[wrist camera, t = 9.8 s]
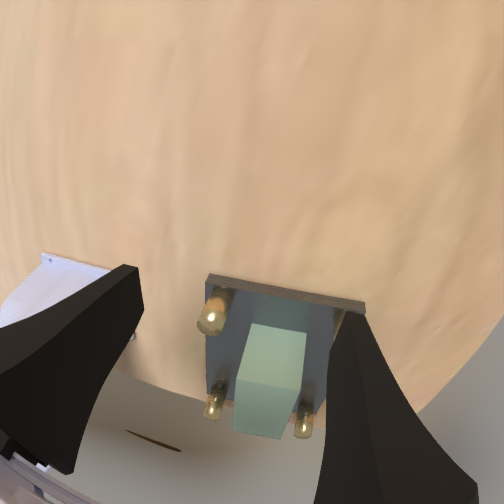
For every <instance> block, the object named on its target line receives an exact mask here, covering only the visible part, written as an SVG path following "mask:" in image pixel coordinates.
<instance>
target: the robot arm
mask: <svg viewBox="0 0 504 504" xmlns="http://www.w3.org/2000/svg"><path fill="white" fill-rule="evenodd" d="M40 258H41V261H42V264H40V265H39V266H38V267H37V268H36V269H35V270H34V271H33V272H32V273H31V274H30V275H29V276H28V277H27V278H26V279H25V280H24V281H23V282H22V283H21V284H20V285H19V286H18V287H17V288H16V289H15V290H14V291H13V292H12V293H11V294H10V295H9V296H8V297H7V298H6V300H5V301H4V303H3V305H2V307H1V309H0V504H54V503H52V502H51V501H49V500H47V499H45V498H44V495H43V491H44V492H46V493H48V494H49V495H51V496H53V497H54V498H56V499H57V500H59V501H61V502H63V503H64V504H101V503H99V502H97V501H95V500H93V499H91V498H89V497H87V496H85V495H83V494H82V493H80V492H78V491H76V490H74V489H72V488H71V487H68V486H67V485H65V484H64V483H62V482H60V481H58V480H56V479H55V478H53V477H52V476H50V475H48V474H47V473H48V471H49V470H50V469H51V468H54V469H56V470H57V471H59V472H61V473H63V474H64V475H68V474H71V473H73V472H74V467H75V463H76V459H77V455H78V450H79V447H80V443H81V440H82V436H83V434H84V431H85V427H86V424H87V422H88V419H89V416H90V414H91V411H92V409H93V406H94V403H95V401H96V399H97V396H98V394H99V392H100V390H101V387H102V386H103V384H104V382H105V380H106V378H107V376H108V375H109V373H110V371H111V370H112V368H113V366H114V365H115V363H116V361H117V360H118V358H119V357H120V355H121V353H122V352H123V350H124V348H125V347H126V345H127V343H128V342H129V340H132V339H133V338H134V332H135V330H136V327H137V325H138V323H139V321H140V319H141V316H142V314H143V312H144V304H143V298H142V292H141V285H140V278H139V270H138V267H134V266H130V265H126V264H123V265H121V266H119V267H117V268H115V269H114V270H112V271H111V270H107V269H104V268H100V267H96V266H92V265H88V264H84V263H81V262H77V261H73V260H70V259H66V258H62V257H59V256H55V255H52V254H48V253H45V252H43V253H42V254H41V255H40ZM42 490H43V491H42ZM313 504H479V496H478V487H477V483H476V482H475V481H474V480H473V479H472V478H471V477H469V476H468V475H467V474H466V473H465V472H464V471H463V470H462V469H461V468H460V467H459V466H458V465H457V464H456V463H455V462H454V461H453V460H452V459H451V458H450V457H449V456H448V454H447V453H446V452H445V451H444V450H443V449H442V448H441V446H440V445H439V444H438V443H437V442H436V440H435V439H434V438H433V437H432V435H431V434H430V433H429V431H428V430H427V429H426V428H425V426H424V425H423V423H422V422H421V421H420V419H419V418H418V416H417V415H416V413H415V412H414V410H413V409H412V407H411V406H410V404H409V403H408V401H407V399H406V398H405V396H404V394H403V392H402V391H401V389H400V387H399V385H398V384H397V382H396V380H395V378H394V376H393V374H392V372H391V370H390V368H389V366H388V364H387V362H386V360H385V358H384V356H383V354H382V352H381V350H380V348H379V346H378V344H377V342H376V339H375V337H374V335H373V333H372V331H371V328H370V326H369V324H368V322H367V320H366V317H365V316H364V314H359V313H354V312H348V311H346V313H345V316H344V318H343V321H342V323H341V325H340V328H339V330H338V333H337V335H336V338H335V340H334V342H333V345H332V347H331V349H330V353H329V361H328V370H327V390H326V436H325V447H324V453H323V460H322V465H321V471H320V476H319V481H318V486H317V491H316V496H315V499H314V503H313Z"/></svg>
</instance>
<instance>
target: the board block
mask: <svg viewBox="0 0 504 504" xmlns="http://www.w3.org/2000/svg"><path fill="white" fill-rule="evenodd" d="M306 335H307V333H302V332H296V331H290V330H285V329H279V328H274V327H269V326H263V325H258V324H253V323H252V325H251V328H250V332H249V335H248V339H247V342H246V346H245V349H244V353H243V357H242V360H241V364H240V367H239V371H238V374H237V378H236V386H235V398H234V409H233V420H232V430H233V431H238V432H242V433H248V434H252V435H258V436H263V437H269V438H274V439H281V436H282V434H283V432H284V429H285V427H286V425H287V422H288V420H289V417H290V415H291V413H292V410H293V408H294V405H295V403H296V400H297V398H298V395H299V393H300V390H301V381H302V373H303V364H304V354H305V345H306Z"/></svg>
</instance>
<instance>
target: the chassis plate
mask: <svg viewBox="0 0 504 504" xmlns="http://www.w3.org/2000/svg"><path fill="white" fill-rule="evenodd" d="M346 311H348V312H354V313H359V314H364V315H365V313H366V309H365V302H360V301H354V300H348V299H342V298H336V297H331V296H325V295H319V294H314V293H308V292H303V291H297V290H292V289H286V288H281V287H276V286H271V285H265V284H260V283H255V282H250V281H245V280H239V279H234V278H229V277H224V276H219V275H214V274H209V276H208V278H207V280H206V282H205V307H204V309H203V311H202V313H201V315H200V318H199V320H198V322H197V327H198V329H199V330H200V331H201V332H202V333H204V334H206V379H207V394H208V395H209V396H208V399H207V402H206V405H205V408H204V411H203V414H202V416H203V417H204V418H205V419H207V420H209V421H214V422H216V421H218V420H219V417H220V415H221V411H222V408H223V405H224V402H225V399H229V400H233V401H234V398H235V386H236V378H237V374H238V371H239V367H240V364H241V360H242V357H243V353H244V349H245V346H246V342H247V339H248V335H249V332H250V328H251V325H252V323H253V324H258V325H263V326H269V327H274V328H279V329H285V330H290V331H296V332H302V333H307V335H306V345H305V354H304V364H303V373H302V381H301V390H300V393H299V395H298V398H297V400H296V403H295V405H294V408H293V410H292V412H296V413H297V418H296V425H295V432H294V436H295V437H297V438H300V439H307V438H310V437H311V435H312V426H313V416H314V415H316V413H317V411H318V410H319V408H320V406H321V404H322V402H323V400H324V399H325V397H326V390H327V370H328V361H329V353H330V349H331V347H332V345H333V342H334V340H335V338H336V335H337V333H338V330H339V328H340V325H341V323H342V321H343V318H344V316H345V313H346Z"/></svg>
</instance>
